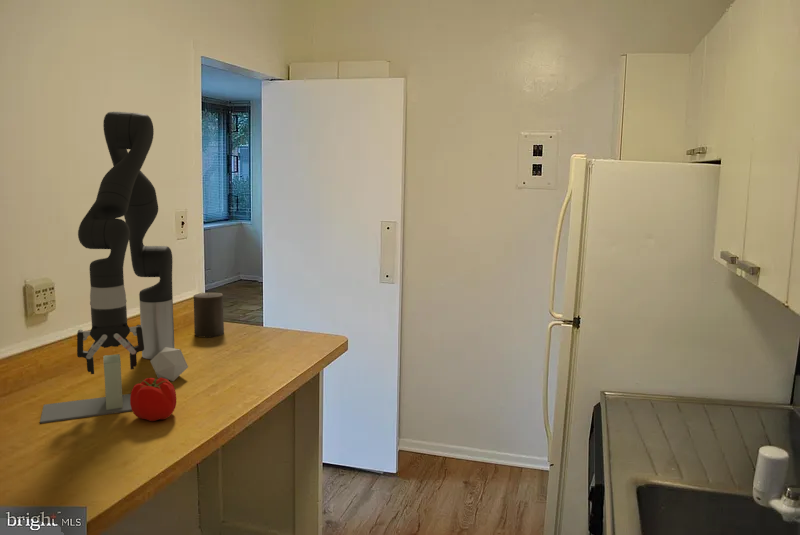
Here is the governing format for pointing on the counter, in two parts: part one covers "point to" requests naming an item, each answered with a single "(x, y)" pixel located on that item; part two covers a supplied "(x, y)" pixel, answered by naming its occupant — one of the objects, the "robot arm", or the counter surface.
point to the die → (169, 363)
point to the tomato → (153, 399)
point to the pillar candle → (208, 314)
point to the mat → (81, 409)
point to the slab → (113, 381)
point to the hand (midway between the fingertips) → (112, 370)
